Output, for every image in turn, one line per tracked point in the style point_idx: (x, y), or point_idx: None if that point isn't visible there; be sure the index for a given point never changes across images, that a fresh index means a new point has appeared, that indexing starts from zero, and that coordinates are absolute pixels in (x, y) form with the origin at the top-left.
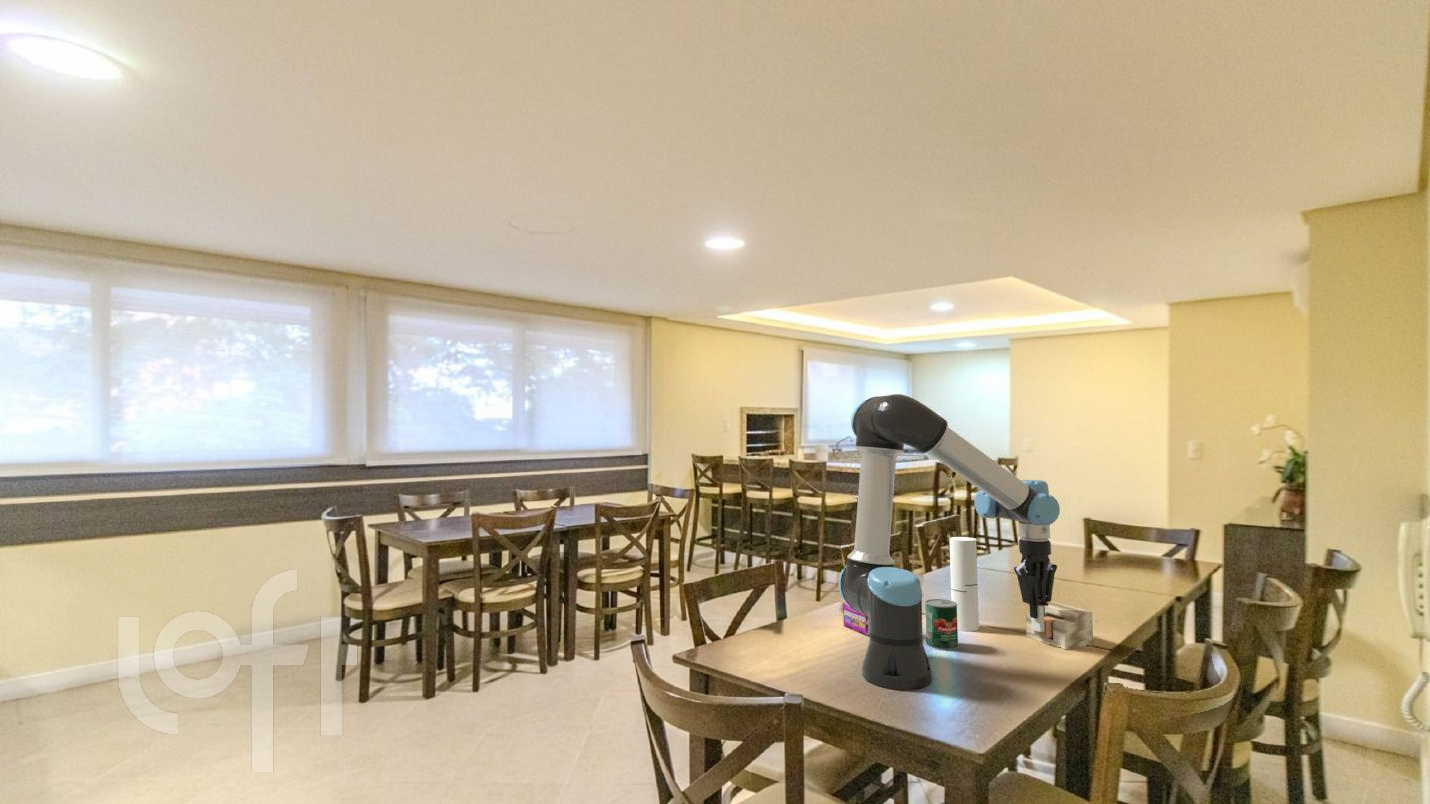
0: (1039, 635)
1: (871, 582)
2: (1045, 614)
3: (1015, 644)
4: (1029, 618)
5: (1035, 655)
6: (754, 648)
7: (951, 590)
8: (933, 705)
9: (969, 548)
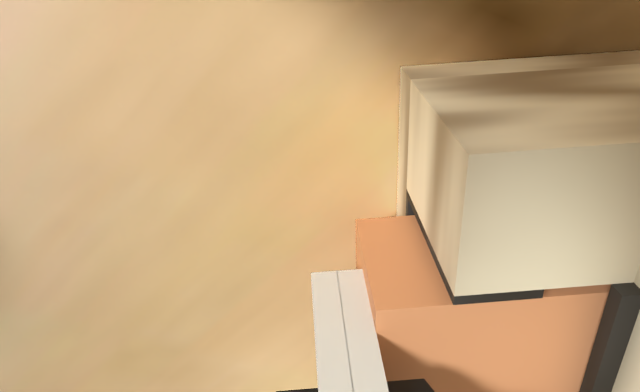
0: (356, 267)
1: None
2: (603, 283)
3: (159, 195)
4: (443, 181)
5: (145, 376)
6: None
7: None
8: None
9: None
